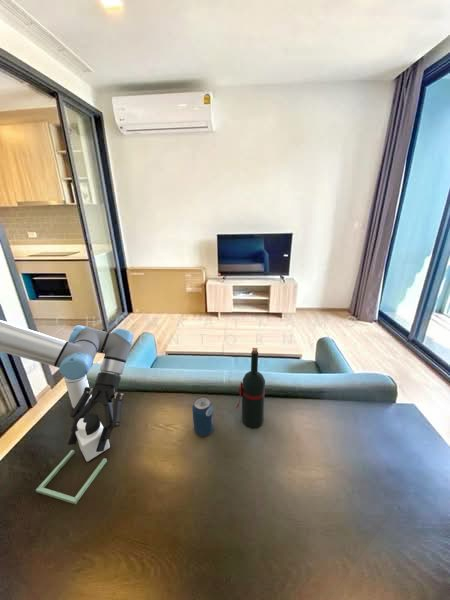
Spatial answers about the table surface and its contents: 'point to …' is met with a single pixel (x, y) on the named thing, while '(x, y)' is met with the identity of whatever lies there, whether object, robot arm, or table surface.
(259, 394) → the wine bottle
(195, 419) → the soda can
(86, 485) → the frame
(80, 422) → the medicine bottle
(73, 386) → the cylindrical container
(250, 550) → the table surface
